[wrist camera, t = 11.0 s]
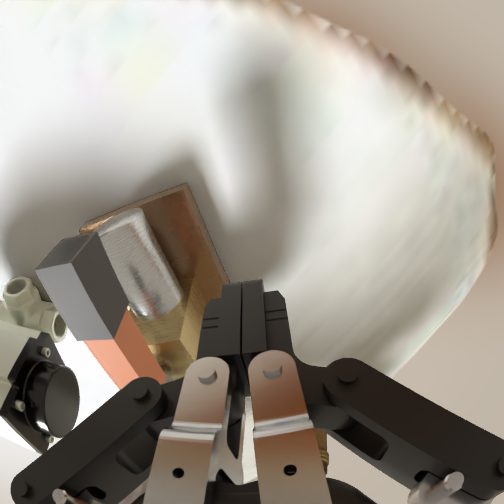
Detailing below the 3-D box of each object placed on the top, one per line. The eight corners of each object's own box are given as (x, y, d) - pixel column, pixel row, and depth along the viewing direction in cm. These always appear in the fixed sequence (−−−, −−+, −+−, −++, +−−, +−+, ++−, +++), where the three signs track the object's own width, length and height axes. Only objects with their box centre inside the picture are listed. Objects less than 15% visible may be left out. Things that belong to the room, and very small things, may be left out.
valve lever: (188, 395, 20) (184, 427, 18) (149, 396, 20) (143, 426, 18) (103, 229, 13) (78, 261, 11) (56, 241, 13) (29, 271, 11)
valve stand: (262, 354, 32) (266, 432, 24) (180, 369, 33) (168, 440, 25) (187, 182, 22) (152, 247, 14) (86, 222, 24) (27, 290, 15)
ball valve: (91, 280, 27) (11, 438, 11) (108, 339, 31) (60, 478, 16) (-21, 264, 26) (-99, 363, 10) (1, 316, 30) (-57, 414, 15)
